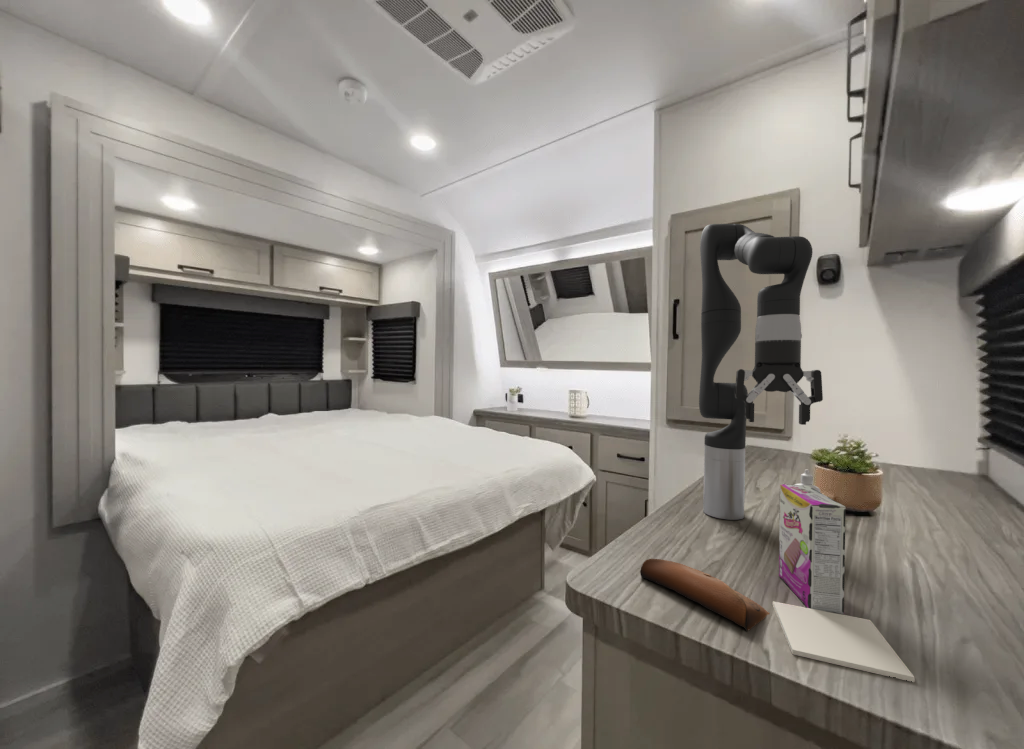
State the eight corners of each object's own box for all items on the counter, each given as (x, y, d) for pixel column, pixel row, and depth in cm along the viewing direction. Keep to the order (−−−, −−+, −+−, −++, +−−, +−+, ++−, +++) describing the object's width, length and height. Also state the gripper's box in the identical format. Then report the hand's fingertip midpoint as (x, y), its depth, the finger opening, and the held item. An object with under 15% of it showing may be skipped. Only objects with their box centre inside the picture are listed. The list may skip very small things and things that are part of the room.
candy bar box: (776, 576, 73) (778, 483, 73) (807, 579, 72) (810, 485, 72) (807, 612, 62) (810, 503, 62) (845, 616, 61) (848, 505, 61)
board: (772, 605, 64) (772, 601, 64) (870, 624, 59) (870, 620, 59) (792, 654, 52) (792, 649, 52) (914, 682, 48) (914, 677, 48)
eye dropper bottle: (812, 522, 100) (814, 473, 99) (788, 515, 105) (789, 467, 104) (823, 520, 101) (824, 471, 101) (799, 512, 106) (800, 466, 106)
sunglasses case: (775, 612, 61) (764, 580, 59) (754, 652, 58) (743, 619, 56) (668, 564, 76) (657, 538, 74) (647, 594, 73) (635, 566, 71)
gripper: (815, 341, 81) (814, 423, 81) (734, 342, 87) (732, 419, 87) (828, 337, 74) (826, 427, 74) (738, 338, 80) (737, 422, 80)
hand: (776, 423), depth 80 cm, fingers open, 8 cm apart
